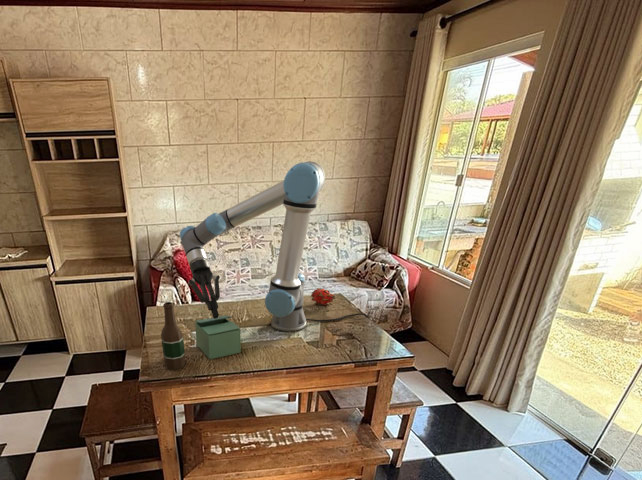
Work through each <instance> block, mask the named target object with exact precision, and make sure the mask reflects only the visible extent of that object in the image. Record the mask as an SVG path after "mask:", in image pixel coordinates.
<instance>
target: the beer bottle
mask: <svg viewBox="0 0 642 480" xmlns="http://www.w3.org/2000/svg"><path fill="white" fill-rule="evenodd" d="M162 307H163V310H164V311H163V312H164V313H163V314H164V326H163V327H162V329H161V334H160V338H161V339H160V341H161V346H162V353H163V354H162V357H163V361H164V366H165V367H166V369H167V370H173V371H176V370H179V369H183V367H184V366H186V354H185V343H184V335H183V332H182V329H181V328H180V327H179V326H178V324H177V319H176V314H175V308H174V307H175V305H174V303H173V302H172V301H167V302H164V303H162Z"/></svg>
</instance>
